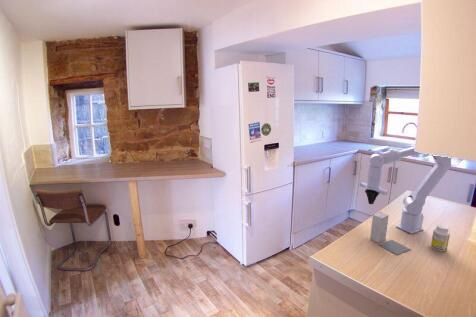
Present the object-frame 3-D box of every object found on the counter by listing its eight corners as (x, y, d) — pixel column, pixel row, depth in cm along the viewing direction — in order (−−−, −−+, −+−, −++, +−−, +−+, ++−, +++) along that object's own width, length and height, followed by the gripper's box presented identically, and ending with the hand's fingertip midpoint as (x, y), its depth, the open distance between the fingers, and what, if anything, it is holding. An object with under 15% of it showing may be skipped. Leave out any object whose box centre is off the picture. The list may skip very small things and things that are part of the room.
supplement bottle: (440, 244, 117) (444, 223, 114) (449, 251, 112) (454, 229, 109) (427, 244, 117) (431, 223, 114) (436, 251, 112) (441, 229, 109)
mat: (392, 240, 121) (392, 239, 121) (410, 249, 113) (410, 249, 113) (378, 244, 117) (378, 244, 117) (396, 255, 109) (396, 254, 109)
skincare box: (378, 243, 118) (382, 218, 115) (369, 238, 122) (372, 214, 119) (386, 239, 121) (389, 214, 118) (376, 235, 125) (379, 211, 122)
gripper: (356, 175, 136) (353, 199, 139) (381, 183, 123) (378, 210, 127) (366, 173, 139) (363, 197, 142) (392, 181, 126) (388, 207, 129)
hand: (371, 203), depth 135 cm, fingers closed
